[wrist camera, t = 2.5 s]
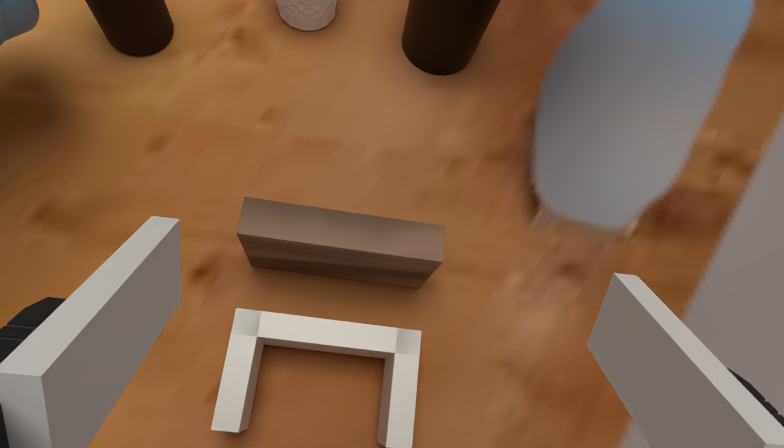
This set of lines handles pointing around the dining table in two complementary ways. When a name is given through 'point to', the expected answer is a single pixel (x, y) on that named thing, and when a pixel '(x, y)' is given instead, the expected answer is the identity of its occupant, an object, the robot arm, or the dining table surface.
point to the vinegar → (134, 24)
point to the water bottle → (445, 32)
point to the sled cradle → (327, 337)
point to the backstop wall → (339, 243)
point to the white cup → (307, 13)
